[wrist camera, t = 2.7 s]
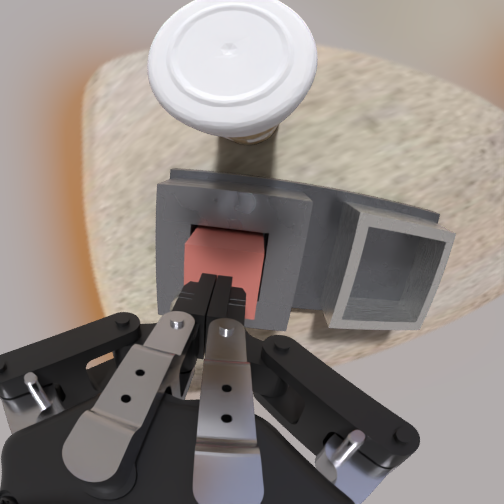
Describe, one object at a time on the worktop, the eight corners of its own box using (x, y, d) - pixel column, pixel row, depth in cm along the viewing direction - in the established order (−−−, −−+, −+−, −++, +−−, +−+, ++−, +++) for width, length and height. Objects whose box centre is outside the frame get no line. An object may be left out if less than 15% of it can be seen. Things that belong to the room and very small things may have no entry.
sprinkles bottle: (281, 143, 18) (328, 131, 6) (218, 147, 19) (145, 145, 6) (277, 84, 17) (310, -15, 4) (214, 88, 17) (144, 2, 4)
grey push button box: (433, 211, 20) (472, 230, 15) (402, 309, 23) (427, 343, 18) (174, 168, 19) (146, 176, 14) (170, 286, 23) (149, 323, 18)
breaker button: (262, 225, 18) (264, 253, 14) (255, 279, 20) (254, 319, 15) (203, 218, 18) (184, 243, 13) (200, 272, 20) (183, 310, 15)
